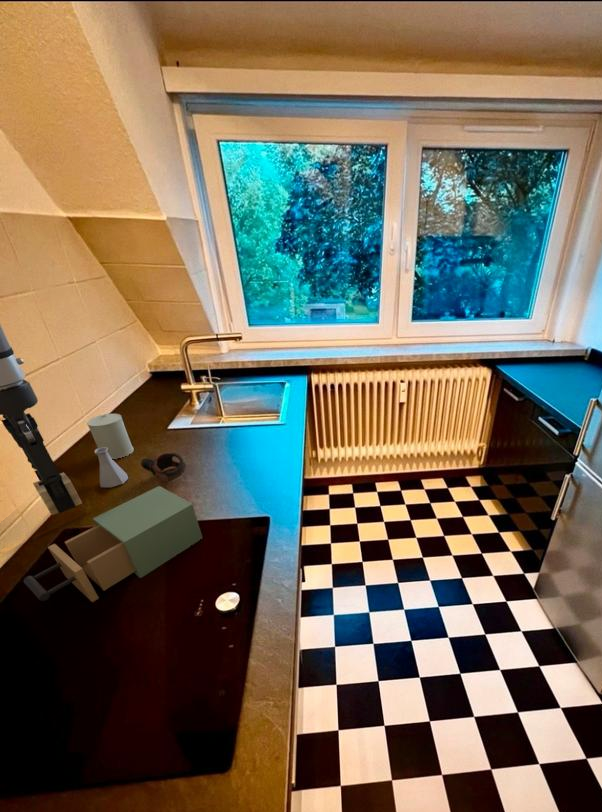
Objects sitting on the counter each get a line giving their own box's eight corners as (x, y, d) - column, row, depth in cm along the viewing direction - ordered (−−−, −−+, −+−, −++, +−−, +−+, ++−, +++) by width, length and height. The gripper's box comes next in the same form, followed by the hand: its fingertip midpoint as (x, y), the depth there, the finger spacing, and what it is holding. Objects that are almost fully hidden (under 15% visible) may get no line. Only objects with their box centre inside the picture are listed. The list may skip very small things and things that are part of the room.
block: (82, 503, 74) (71, 481, 71) (52, 515, 71) (39, 493, 68) (74, 493, 77) (63, 472, 74) (45, 504, 74) (32, 482, 71)
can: (133, 443, 127) (120, 409, 121) (134, 455, 120) (121, 419, 114) (101, 450, 123) (86, 415, 117) (101, 463, 117) (85, 426, 110)
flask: (103, 476, 110) (89, 445, 105) (131, 472, 112) (118, 441, 106) (96, 490, 104) (81, 458, 99) (126, 485, 106) (113, 453, 100)
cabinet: (140, 578, 77) (124, 542, 72) (109, 553, 83) (92, 518, 78) (202, 538, 87) (192, 504, 82) (171, 518, 93) (159, 485, 88)
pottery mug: (191, 465, 116) (188, 450, 109) (184, 493, 111) (182, 478, 104) (146, 460, 112) (141, 444, 106) (138, 488, 107) (132, 473, 101)
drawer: (57, 624, 67) (36, 594, 63) (31, 595, 73) (10, 565, 69) (160, 559, 80) (148, 530, 76) (131, 538, 86) (119, 511, 82)
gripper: (40, 391, 58) (100, 513, 71) (15, 368, 69) (71, 478, 81) (-24, 405, 54) (52, 533, 66) (-40, 378, 64) (28, 493, 77)
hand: (62, 502), depth 74 cm, fingers closed on block, 5 cm apart
